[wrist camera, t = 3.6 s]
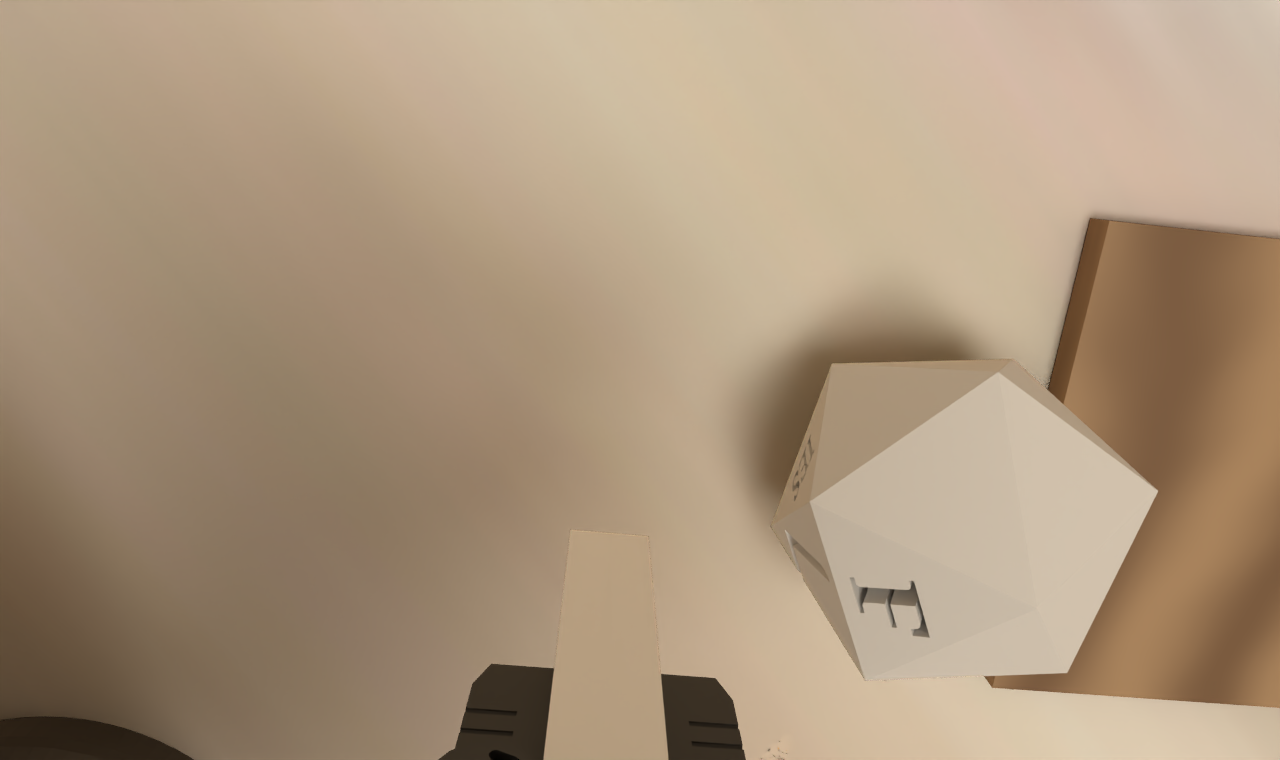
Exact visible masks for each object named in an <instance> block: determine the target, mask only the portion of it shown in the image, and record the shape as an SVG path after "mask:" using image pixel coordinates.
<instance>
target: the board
mask: <svg viewBox="0 0 1280 760" xmlns="http://www.w3.org/2000/svg"><path fill="white" fill-rule="evenodd" d="M1048 391H1049V392H1050V393H1051V394H1053V395H1054V396H1055V397H1056V398H1057V399H1058V400H1059V401H1060V402H1061V403H1062V404H1063V405H1065V406H1066V407H1067V408H1068V409H1069V410H1070V411H1071V412H1072V413H1073V414H1074V415H1076V416H1077V417H1078V418H1079V419H1080V420H1081V421H1082V422H1083V423H1084V424H1085V425H1087V426H1088V427H1089V428H1090V429H1091V430H1092V431H1093V432H1094V433H1095V434H1096V435H1097V436H1099V437H1100V438H1101V439H1102V440H1103V441H1104V442H1105V443H1106V444H1107V445H1108V446H1110V447H1111V448H1112V449H1113V450H1114V451H1115V452H1116V453H1117V454H1118V455H1119V456H1120V457H1122V458H1123V459H1124V460H1125V461H1126V462H1127V463H1128V464H1129V465H1130V466H1131V467H1133V468H1134V469H1135V470H1136V471H1137V472H1138V473H1139V474H1140V475H1141V476H1142V477H1144V478H1145V479H1146V480H1147V481H1148V482H1149V483H1150V484H1151V485H1152V486H1153V487H1154V488H1156V489H1157V490H1158V493H1157V495H1156V497H1155V499H1154V501H1153V503H1152V505H1151V507H1150V509H1149V511H1148V513H1147V515H1146V517H1145V519H1144V521H1143V523H1142V525H1141V527H1140V529H1139V531H1138V533H1137V535H1136V537H1135V539H1134V541H1133V543H1132V545H1131V547H1130V549H1129V551H1128V553H1127V555H1126V557H1125V559H1124V561H1123V563H1122V565H1121V567H1120V569H1119V571H1118V573H1117V575H1116V577H1115V579H1114V581H1113V583H1112V585H1111V587H1110V589H1109V591H1108V593H1107V595H1106V597H1105V599H1104V601H1103V603H1102V605H1101V607H1100V609H1099V611H1098V612H1097V614H1096V616H1095V618H1094V620H1093V622H1092V624H1091V626H1090V628H1089V630H1088V632H1087V634H1086V636H1085V638H1084V640H1083V642H1082V644H1081V646H1080V648H1079V650H1078V652H1077V654H1076V656H1075V658H1074V660H1073V662H1072V664H1071V666H1070V668H1069V670H1068V672H1067V673H1055V674H1029V675H1003V676H984V677H985V678H986V680H987V681H988V682H989V684H990V685H991V686H992V688H1005V689H1019V690H1034V691H1048V692H1062V693H1076V694H1091V695H1105V696H1119V697H1134V698H1148V699H1162V700H1177V701H1191V702H1205V703H1220V704H1234V705H1248V706H1263V707H1277V708H1280V239H1274V238H1265V237H1256V236H1247V235H1238V234H1229V233H1219V232H1210V231H1201V230H1192V229H1183V228H1174V227H1165V226H1155V225H1146V224H1137V223H1128V222H1119V221H1110V220H1100V219H1091V218H1090V222H1089V226H1088V230H1087V234H1086V238H1085V243H1084V247H1083V251H1082V255H1081V259H1080V263H1079V267H1078V271H1077V275H1076V279H1075V283H1074V287H1073V291H1072V296H1071V300H1070V304H1069V308H1068V312H1067V316H1066V320H1065V324H1064V328H1063V332H1062V336H1061V340H1060V344H1059V349H1058V353H1057V357H1056V361H1055V365H1054V369H1053V373H1052V377H1051V381H1050V385H1049V389H1048Z"/></svg>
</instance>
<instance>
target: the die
mask: <svg viewBox="0 0 1280 760" xmlns="http://www.w3.org/2000/svg"><path fill="white" fill-rule="evenodd" d="M1157 493H1158V490H1157V489H1156V488H1154V487H1153V486H1152V485H1151V484H1150V483H1149V482H1148V481H1147V480H1146V479H1145V478H1144V477H1142V476H1141V475H1140V474H1139V473H1138V472H1137V471H1136V470H1135V469H1134V468H1133V467H1131V466H1130V465H1129V464H1128V463H1127V462H1126V461H1125V460H1124V459H1123V458H1122V457H1120V456H1119V455H1118V454H1117V453H1116V452H1115V451H1114V450H1113V449H1112V448H1111V447H1110V446H1108V445H1107V444H1106V443H1105V442H1104V441H1103V440H1102V439H1101V438H1100V437H1099V436H1097V435H1096V434H1095V433H1094V432H1093V431H1092V430H1091V429H1090V428H1089V427H1088V426H1087V425H1085V424H1084V423H1083V422H1082V421H1081V420H1080V419H1079V418H1078V417H1077V416H1076V415H1074V414H1073V413H1072V412H1071V411H1070V410H1069V409H1068V408H1067V407H1066V406H1065V405H1063V404H1062V403H1061V402H1060V401H1059V400H1058V399H1057V398H1056V397H1055V396H1054V395H1053V394H1051V393H1050V392H1049V391H1048V390H1047V389H1046V388H1045V387H1044V386H1043V385H1042V384H1040V383H1039V382H1038V381H1037V380H1036V379H1035V378H1034V377H1033V376H1032V375H1031V374H1030V373H1028V372H1027V371H1026V370H1025V369H1024V368H1023V367H1022V366H1021V365H1020V364H1019V363H1017V362H1016V361H1015V360H1014V359H990V360H950V361H910V362H870V363H832V365H831V367H830V370H829V373H828V375H827V378H826V380H825V383H824V386H823V388H822V391H821V394H820V396H819V399H818V402H817V404H816V407H815V410H814V412H813V415H812V418H811V420H810V423H809V426H808V428H807V431H806V434H805V436H804V439H803V442H802V444H801V447H800V450H799V452H798V455H797V457H796V460H795V463H794V465H793V468H792V471H791V473H790V476H789V479H788V481H787V484H786V487H785V489H784V492H783V495H782V497H781V500H780V503H779V505H778V508H777V511H776V513H775V516H774V519H773V521H772V524H771V528H772V529H773V531H774V533H775V534H776V536H777V538H778V539H779V541H780V542H781V544H782V546H783V547H784V549H785V551H786V552H787V554H788V555H789V557H790V559H791V560H792V562H793V564H794V565H795V567H796V569H797V570H798V571H799V572H801V573H802V576H803V580H804V582H805V583H806V585H807V586H808V588H809V590H810V591H811V593H812V595H813V596H814V598H815V600H816V601H817V603H818V604H819V606H820V608H821V609H822V611H823V613H824V614H825V616H826V618H827V619H828V621H829V622H830V624H831V626H832V627H833V629H834V631H835V632H836V634H837V635H838V637H839V639H840V640H841V642H842V644H843V645H844V647H845V649H846V650H847V652H848V653H849V655H850V657H851V658H852V660H853V662H854V663H855V665H856V667H857V668H858V670H859V671H860V673H861V675H862V676H863V678H864V680H865V681H872V680H898V679H924V678H951V677H977V676H1003V675H1029V674H1055V673H1067V672H1068V670H1069V668H1070V666H1071V664H1072V662H1073V660H1074V658H1075V656H1076V654H1077V652H1078V650H1079V648H1080V646H1081V644H1082V642H1083V640H1084V638H1085V636H1086V634H1087V632H1088V630H1089V628H1090V626H1091V624H1092V622H1093V620H1094V618H1095V616H1096V614H1097V612H1098V611H1099V609H1100V607H1101V605H1102V603H1103V601H1104V599H1105V597H1106V595H1107V593H1108V591H1109V589H1110V587H1111V585H1112V583H1113V581H1114V579H1115V577H1116V575H1117V573H1118V571H1119V569H1120V567H1121V565H1122V563H1123V561H1124V559H1125V557H1126V555H1127V553H1128V551H1129V549H1130V547H1131V545H1132V543H1133V541H1134V539H1135V537H1136V535H1137V533H1138V531H1139V529H1140V527H1141V525H1142V523H1143V521H1144V519H1145V517H1146V515H1147V513H1148V511H1149V509H1150V507H1151V505H1152V503H1153V501H1154V499H1155V497H1156V495H1157Z"/></svg>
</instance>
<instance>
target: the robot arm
mask: <svg viewBox="0 0 1280 760" xmlns="http://www.w3.org/2000/svg"><path fill="white" fill-rule="evenodd" d="M0 760H193V759H192V758H190V757H189V756H187V755H185V754H183V753H181V752H180V751H178V750H176V749H174V748H172V747H170V746H168V745H166V744H164V743H162V742H160V741H157V740H155V739H153V738H150V737H148V736H145V735H143V734H140V733H137V732H134V731H131V730H128V729H124V728H121V727H117V726H114V725H110V724H105V723H100V722H96V721H89V720H83V719H75V718H64V717H24V718H14V719H7V720H0ZM439 760H746V759H745V754H744V750H742V740H741V736H740V731H739V729H738V722H737V717H736V713H735V708H734V704H733V700H732V699H731V697H730V696H729V695H728V694H727V692H726V691H725V690H724V689H723V687H722V686H721V685H720V684H719V682H718V681H717V680H716V679H715V678H706V677H692V676H679V675H665V674H661V670H660V659H659V648H658V636H657V625H656V614H655V603H654V592H653V580H652V569H651V558H650V547H649V536H642V535H631V534H619V533H607V532H595V531H583V530H571V529H570V538H569V546H568V555H567V563H566V572H565V580H564V589H563V597H562V606H561V614H560V623H559V631H558V640H557V648H556V657H555V665H554V669H553V668H540V667H526V666H513V665H499V664H491V665H490V666H489V667H488V668H487V669H486V670H485V671H484V672H483V673H482V674H481V675H480V676H479V677H478V678H477V680H476V681H475V682H474V683H473V684H472V687H471V691H470V695H469V699H468V702H467V706H466V712H465V714H464V717H463V721H462V725H461V730H460V733H459V736H458V740H457V743H456V747H455V749H454V750H451V751H449V752H448V753H446V754H445V755H444V756H443V757H441V758H440V759H439Z"/></svg>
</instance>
